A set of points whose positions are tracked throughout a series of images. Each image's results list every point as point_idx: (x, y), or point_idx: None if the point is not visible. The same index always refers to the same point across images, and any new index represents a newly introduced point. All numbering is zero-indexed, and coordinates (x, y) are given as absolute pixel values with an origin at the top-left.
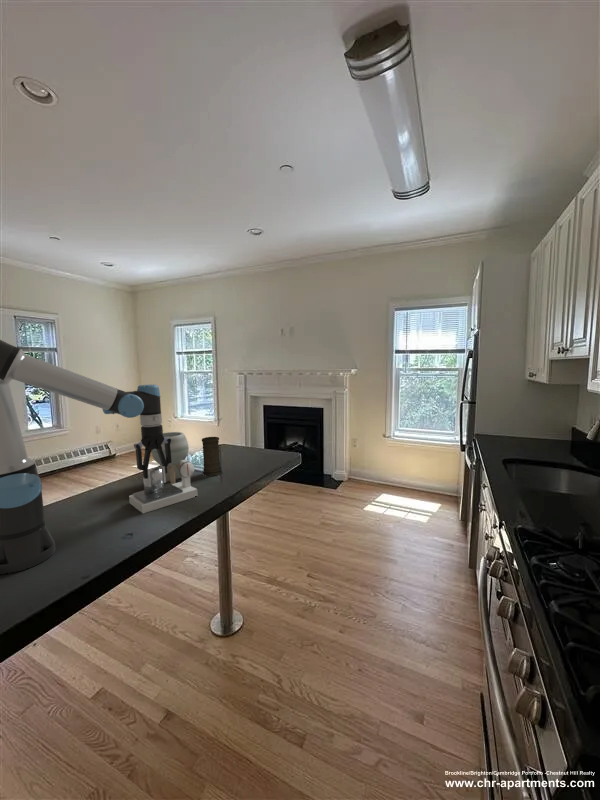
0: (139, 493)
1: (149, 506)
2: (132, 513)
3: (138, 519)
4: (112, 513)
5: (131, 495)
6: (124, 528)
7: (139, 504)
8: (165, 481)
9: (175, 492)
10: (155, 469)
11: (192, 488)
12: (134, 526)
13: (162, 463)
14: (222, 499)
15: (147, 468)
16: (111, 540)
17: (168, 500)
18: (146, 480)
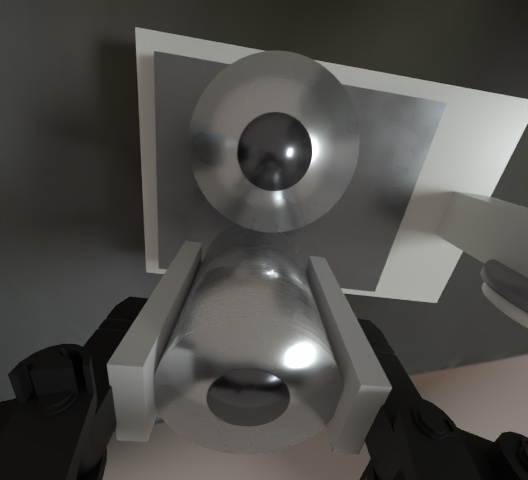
0: (189, 107)
1: None
2: (125, 212)
3: (127, 288)
4: (38, 120)
5: (152, 38)
6: (64, 313)
7: (146, 233)
8: None
9: None
10: (239, 413)
11: (436, 277)
12: (98, 325)
13: (397, 450)
14: (421, 371)
15: (97, 473)
16: (13, 353)
17: None
18: (171, 270)
